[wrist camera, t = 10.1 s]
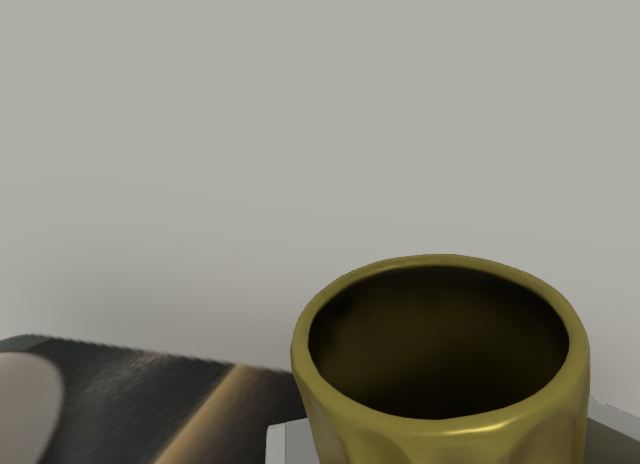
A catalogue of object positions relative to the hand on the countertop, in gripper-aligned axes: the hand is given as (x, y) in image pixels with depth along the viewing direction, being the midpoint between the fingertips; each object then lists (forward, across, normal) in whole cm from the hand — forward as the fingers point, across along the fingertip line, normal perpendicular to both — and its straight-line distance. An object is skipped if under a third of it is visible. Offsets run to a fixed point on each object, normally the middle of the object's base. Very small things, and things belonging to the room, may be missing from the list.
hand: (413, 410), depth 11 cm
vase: (-2, 0, +10) cm, 10 cm away
